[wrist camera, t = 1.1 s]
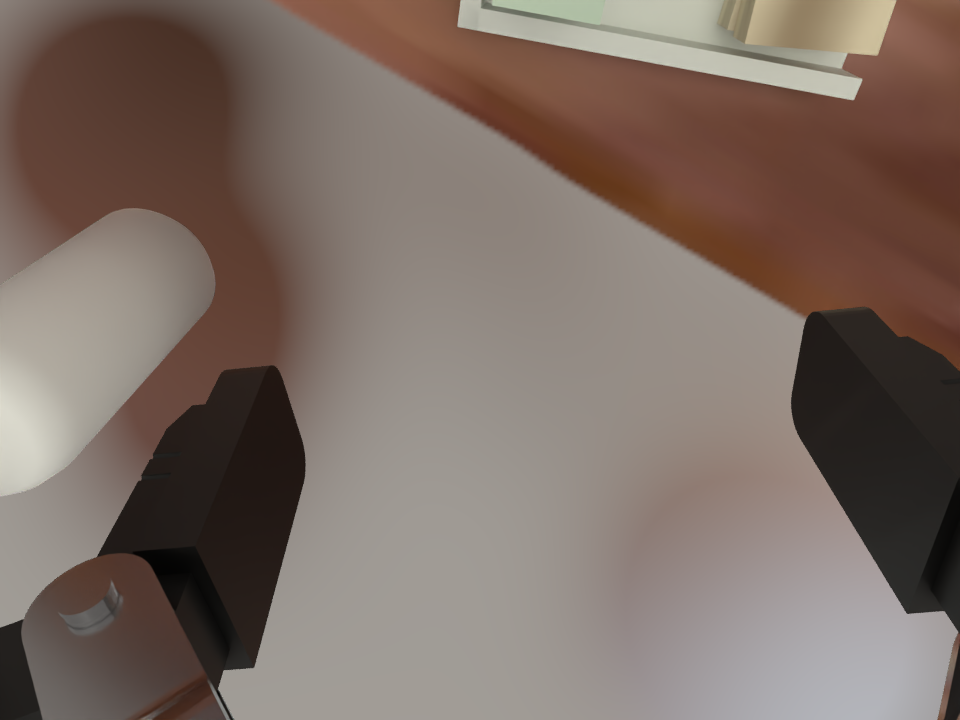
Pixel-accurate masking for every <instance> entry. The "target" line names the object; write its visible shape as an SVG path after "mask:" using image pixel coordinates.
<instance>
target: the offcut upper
mask: <svg viewBox="0 0 960 720" xmlns="http://www.w3.org/2000/svg"><path fill="white" fill-rule="evenodd" d="M895 3H896V0H741V4H740V8H739V13H738V17H737V21H736V25H735V29H734V33H733V37H734V38H736V39H738V40H739V41H741V42H742V43H744V44H751V45H762V46H774V47H785V48H797V49H808V50H820V51H831V52H843V53H854V54H865V55H878V52H879V49H880V47H881V44H882V41H883V38H884V35H885V32H886V29H887V26H888V23H889V20H890V17H891V15H892V12H893V9H894V6H895Z"/></svg>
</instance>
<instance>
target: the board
mask: <svg viewBox="0 0 960 720" xmlns="http://www.w3.org/2000/svg"><path fill="white" fill-rule="evenodd" d="M604 4H605V0H493V1H492V5H493V6H499V7H504V8H509V9H515V10H520V11H526V12H531V13H536V14H542V15H547V16H552V17H558V18H563V19H569V20H574V21H579V22H585V23H590V24H596V25H600V22H601V17H602V13H603V8H604Z"/></svg>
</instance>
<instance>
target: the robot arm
mask: <svg viewBox="0 0 960 720" xmlns="http://www.w3.org/2000/svg"><path fill="white" fill-rule="evenodd" d="M791 409H792V416H793V421H794V425H795V428H796V430H797V433H798V435H799V437H800V439H801V441H802V442H803V444H804V445H805V447H806V449H807V450H808V452H809V454H810V455H811V457H812V459H813V460H814V462H815V464H816V465H817V467H818V468H819V470H820V472H821V473H822V475H823V477H824V478H825V480H826V482H827V483H828V485H829V486H830V488H831V490H832V491H833V493H834V495H835V496H836V498H837V500H838V501H839V503H840V505H841V506H842V508H843V509H844V511H845V513H846V514H847V516H848V518H849V519H850V521H851V522H852V524H853V526H854V527H855V529H856V531H857V532H858V534H859V536H860V537H861V539H862V540H863V542H864V544H865V545H866V547H867V549H868V551H869V552H870V554H871V555H872V557H873V559H874V560H875V562H876V563H877V565H878V567H879V569H880V570H881V572H882V573H883V575H884V577H885V578H886V580H887V582H888V583H889V585H890V587H891V588H892V590H893V592H894V593H895V595H896V597H897V598H898V600H899V601H900V603H901V605H902V606H903V608H904V610H905V611H906V613H907V614H910V613H923V612H935V611H945V612H946V614H947V615H948V617H949V618H950V620H951V621H952V623H953V624H954V626H955V627H956V629H957V630H958V634H957V636H956V639H955V641H954V644H953V648H952V653H951V658H950V662H949V667H948V672H947V677H946V681H945V686H944V691H943V696H942V700H941V705H940V710H939V715H938V719H937V720H960V372H959V371H958V370H957V369H956V368H955V367H954V366H953V365H952V364H951V363H950V362H949V361H948V360H947V359H946V358H945V357H944V356H943V355H942V354H940V353H938V352H936V351H934V350H932V349H930V348H929V347H927V346H925V345H923V344H921V343H919V342H917V341H915V340H913V339H912V338H910V337H908V336H907V337H898V336H897V335H896V334H895V333H894V332H893V331H892V330H891V329H890V328H889V327H888V326H887V325H886V324H885V323H884V322H883V321H882V320H881V319H880V318H879V317H878V315H877V314H876V313H875V312H874V311H872V310H871V309H870V308H868V307H858V308H848V309H837V310H827V311H817V312H812V313H811V314H810V315H809V316H808V318H807V319H806V322H805V325H804V330H803V335H802V341H801V346H800V352H799V358H798V363H797V369H796V374H795V379H794V385H793V391H792V397H791ZM141 476H142V480H141V481H138V483H137V484H136V486H135V488H134V490H133V492H132V493H131V495H130V497H129V499H128V501H127V503H126V504H125V506H124V508H123V510H122V512H121V514H120V515H119V517H118V519H117V521H116V523H115V525H114V526H113V528H112V530H111V532H110V534H109V535H108V537H107V539H106V541H105V543H104V545H103V547H102V548H101V550H100V552H99V554H98V556H97V557H96V558H93V559H90V560H87V561H85V562H83V563H81V564H79V565H76V566H75V567H73V568H71V569H70V570H68V571H66V572H64V573H63V574H62V575H60V576H59V577H57V578H56V579H55V580H54V581H53V582H51V583H50V584H49V585H48V586H47V587H46V588H45V589H44V590H43V591H42V592H41V593H40V594H39V595H38V596H37V597H36V599H35V600H34V601H33V603H32V604H31V606H30V607H29V609H28V611H27V613H26V615H25V618H24V619H23V620H20V621H18V622H15V623H13V624H9V625H7V626H4V627H1V628H0V720H234V718H233V716H232V714H231V712H230V710H229V708H228V707H227V704H226V702H225V701H224V699H223V697H222V695H221V693H220V691H219V690H218V687H219V683H220V680H221V677H222V673H223V670H233V669H246V668H254V666H255V663H256V658H257V655H258V651H259V648H260V644H261V640H262V636H263V633H264V629H265V625H266V621H267V618H268V614H269V610H270V606H271V603H272V599H273V595H274V592H275V588H276V584H277V581H278V576H279V573H280V569H281V566H282V562H283V558H284V554H285V551H286V546H287V543H288V540H289V535H290V532H291V528H292V525H293V521H294V517H295V513H296V510H297V506H298V502H299V498H300V495H301V491H302V487H303V484H304V479H305V452H304V446H303V442H302V438H301V435H300V432H299V429H298V426H297V423H296V419H295V416H294V413H293V410H292V407H291V404H290V401H289V398H288V394H287V391H286V388H285V385H284V382H283V379H282V376H281V374H280V372H279V370H278V369H277V368H276V367H275V366H272V365H271V366H261V367H250V368H240V369H231V370H224V371H223V372H222V373H221V374H220V376H219V378H218V380H217V382H216V384H215V386H214V388H213V390H212V392H211V394H210V396H209V399H208V400H207V402H206V404H204V405H193V406H191V407H190V408H189V409H188V410H187V411H186V412H185V413H184V414H183V415H181V416H180V417H179V418H178V419H177V420H176V421H175V422H174V423H173V424H172V425H171V426H169V427H168V428H167V429H166V431H165V433H164V435H163V437H162V439H161V440H160V442H159V444H158V446H157V448H156V450H155V452H154V453H153V459H150V460H149V463H148V464H147V466H146V468H145V470H144V471H143V474H142V475H141Z"/></svg>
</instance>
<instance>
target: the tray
mask: <svg viewBox="0 0 960 720" xmlns="http://www.w3.org/2000/svg"><path fill="white" fill-rule="evenodd" d="M492 1H493V0H461V3H460V10H459V18H458V26H457V27H461V28H466V29H472V30H477V31H483V32H488V33H493V34H499V35H504V36H509V37H515V38H520V39H526V40H531V41H536V42H542V43H547V44H553V45H558V46H563V47H569V48H574V49H580V50H585V51H590V52H596V53H601V54H607V55H612V56H617V57H623V58H628V59H634V60H639V61H644V62H650V63H655V64H661V65H666V66H671V67H677V68H682V69H688V70H693V71H698V72H704V73H709V74H715V75H720V76H725V77H731V78H736V79H742V80H747V81H752V82H758V83H763V84H769V85H774V86H779V87H785V88H790V89H795V90H801V91H806V92H812V93H817V94H822V95H828V96H833V97H839V98H844V99H849V100H854V99H855V96H856V94H857V92H858V89H859V87H860V84H861V82H862V80H863V79H861V78H859V77H857V76H855V75H853V74H851V73H849V72H847V71H845V70H843V69H841V68H842V66H843V63H844V61H845V58H846V56H847V53H843V52H831V51H820V50H808V49H797V48H785V47H774V46H762V45H751V44H744V43H742V42H741V41H739V40H738V39H736V38H734V37H733V33H734V31H731V30H727V29H725V28H724V27H722V26H720V25H719V24H717V22H718V19H719V15H720V12H721V9H722V6H723V3H724V0H605V4H604V8H603V13H602V17H601V22H600V25H596V24H590V23H585V22H579V21H574V20H569V19H563V18H558V17H552V16H547V15H542V14H536V13H531V12H526V11H520V10H515V9H509V8H504V7H499V6H493V5H492Z"/></svg>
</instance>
